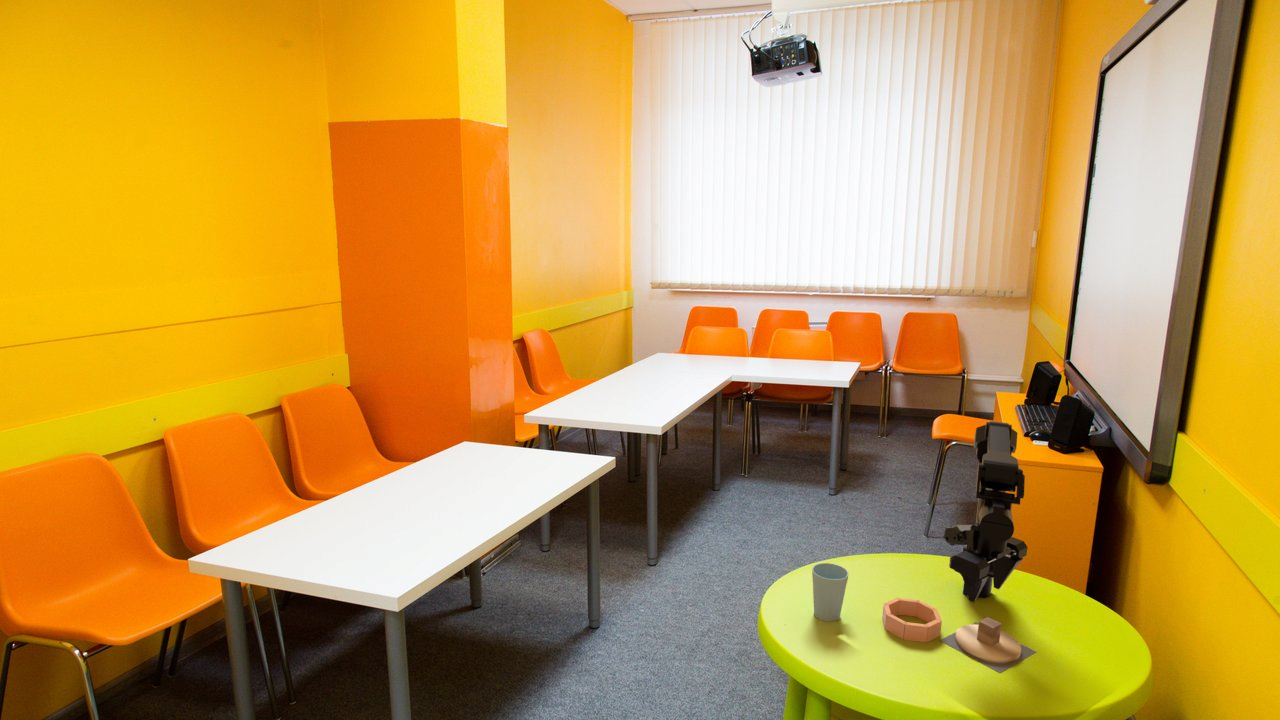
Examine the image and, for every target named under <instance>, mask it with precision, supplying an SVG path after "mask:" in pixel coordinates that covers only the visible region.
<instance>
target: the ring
mask: <svg viewBox="0 0 1280 720" xmlns="http://www.w3.org/2000/svg"><path fill="white" fill-rule="evenodd" d="M882 605H883V606H882V616H881V618H882V623H883V627H884V630H885V631H888V632H890V633H891V634H892V635H895V636H896V637H898V638H899V639H902V640H903V641H905V640H906V641H912V642H913V641H914V642H921V643H928V642H930V641H933V640H934V639H936V638H938V637H940V636H941V631H942V622H943V621H942V617H941V614H940V612H939V610H938V609H937V608H935V607H934V606H931V605H929V604H928V603H926V602H923V601H921V600H920V599H913V598H912V599H911V598H902V597H896V598H893V599H891V600H888V601H886V602H884V603H883V604H882ZM898 615H900V616H909V617H916V618H918V619H920V620H922V621H924V622H926V623H918V622H917V623H916V622H907V621H905V620H903V619H901V618H899V617H897V616H898Z"/></svg>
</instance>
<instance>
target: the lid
mask: <svg viewBox="0 0 1280 720" xmlns="http://www.w3.org/2000/svg"><path fill="white" fill-rule="evenodd" d="M978 623H979V625H976V624H973V623H971V624H972V625H971V624H965V625H962V626H960V627H958V628H957V630H956V631H955V632H956V637H955V641H956V643H957V645H958V646H959V647H960V648H961V649H962V650H963V651H964V652H966V653H967V654H969V655H971V656H973V657H975V658H977V659H980V660H983V661H986V662H991V663H998V664H1006V663H1012V662H1015V661H1017V660H1018V659H1019V658H1020V654H1021V646H1020V644H1021V643H1020V644H1019V641H1018V640H1017V639H1016V638H1015V637H1013V636H1012V635H1011V634H1009V633H1007V632H1006V631H1003V630H1002V625H1003V624H1002V623H1001V622H999V621H997V620H994V619H992V618H990V617H988V616H986V617H985V618H983V619H981V620H979V621H978Z"/></svg>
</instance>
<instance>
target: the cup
mask: <svg viewBox="0 0 1280 720" xmlns="http://www.w3.org/2000/svg"><path fill="white" fill-rule="evenodd" d="M811 572H812V574H811V575H812V594H813V614H814V616H815V617H816V618H818V619H819V620H822V621H825V622H835V621H836V622H837V621H838V620H839V619H840V617H841V614H842V613H841V612H842V607H843V603H844V598H845V592H846V589H847V584H848V580H849V577H850V575H849V571H848V569H846V567H843V566H841V565H839V564H836V563H829V562H823V563H822V562H821V563H817V564H814V565H813V567H812V568H811Z"/></svg>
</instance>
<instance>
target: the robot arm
mask: <svg viewBox="0 0 1280 720" xmlns="http://www.w3.org/2000/svg"><path fill="white" fill-rule="evenodd" d="M1012 425H1013V424H1009V423H1008V422H1000V421H991V420H990V421H986V422H985V424H984V425H979V426H978V427H976V428H975V432H974V439H973V449H976V452H975V453H976V454H975V455H976V459H977V461H978V464H977V473H976V482H975V483H976V485H975V498H976V499H977V500H978V501H977V509H976V518H975V522H974V523H972V524H957V525H954V526H952V525H949V526H947V527H946V528H945V530H944V531H943V532H944V535H943V539H944V541H945V542H946V543H947V544H948V545H949V546H952V547H953V546H957V545H958V546H962V549H961V552H959V553H956V554H954V555H952V556H951V557H949V565H948V567H949V568H950V569H951V570H953V571H954V572H956V573H958V574H960V576H961V577H962V580H963V585H962V586H963V587H962V594H963V595H965V596H967V600H968V601H969V602H971V603H975V602H976V600H977V599H987V598H990V597H991V595H993V596H995V597H997V595H996V594H994V593H992V587H993V588H995V589H996V590H1000V589H1001V588H1002V587H1003V585H1004V584H1005V582H1006V581H1007V579H1009V577H1010V576H1011V574H1012V573H1013V571H1014V570H1015V569H1017V567H1018V565H1019V564H1020V563H1021V562H1022V561H1023V560H1024V559H1023V558H1024V557H1026V556H1027V554H1028V545H1027V544H1026V542H1025V541H1024V540H1023V539H1022V540H1021V539H1019V538H1016V537H1014V536H1013V535H1014V532H1015V525H1014V517H1013V513H1012V507H1013V505H1021V499H1024V496H1025V484H1026V482H1025V479H1026V478H1025V477H1026V476H1025V474H1024V470H1023V469H1022V468H1020V467H1019V461H1018V460H1019V459H1018V458H1017V457H1015V456H1013V455H1012V454H1015V452H1016V450H1017V445H1018V431H1015V429H1013V426H1012ZM1015 493H1016V494H1015Z"/></svg>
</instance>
